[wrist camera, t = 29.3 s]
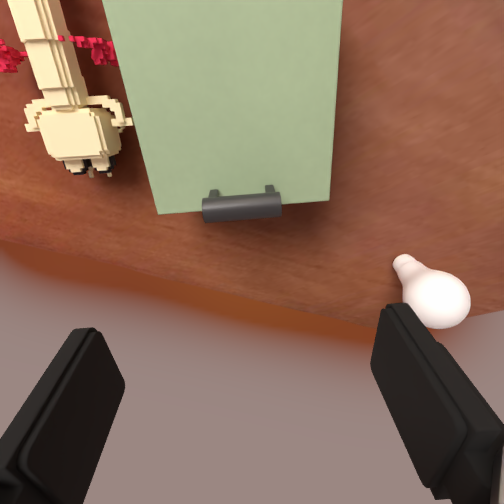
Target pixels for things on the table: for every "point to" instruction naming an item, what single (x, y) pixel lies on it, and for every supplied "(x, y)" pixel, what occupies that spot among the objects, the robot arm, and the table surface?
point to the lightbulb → (432, 293)
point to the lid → (231, 100)
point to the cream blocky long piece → (65, 89)
